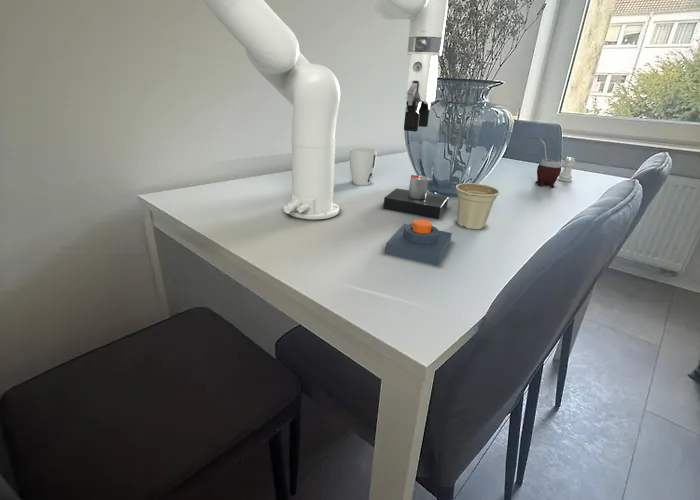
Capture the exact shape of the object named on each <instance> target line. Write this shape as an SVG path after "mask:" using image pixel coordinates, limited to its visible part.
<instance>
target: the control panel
mask: <svg viewBox="0 0 700 500" xmlns="http://www.w3.org/2000/svg"><path fill="white" fill-rule="evenodd" d="M408 194H409V189H402V188H398V187H397V188H394V190H392V191H391V192H390V193H388V194H387V195H386V196H384V197H383V210H388V211H392V212H398V213H403V214H408V215H413V216H420V217H424V218H431V219H435V220H440V219H441V218H442V215H443V214H444V213H445V211H446V210H447V208H448V203H449V196H446V195H438V194H433V193H427V194H426V198H425V199H421V200H418V199H412V198H410V197H409V196H408Z"/></svg>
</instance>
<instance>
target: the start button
mask: <svg viewBox="0 0 700 500" xmlns="http://www.w3.org/2000/svg"><path fill="white" fill-rule="evenodd" d="M412 223H413V227H412V231H415V232H417V233H431V228H432V226H433V223H432V221H430V220H427V219H421V218H419V219H414V220H413V221H412Z"/></svg>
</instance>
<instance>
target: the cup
mask: <svg viewBox="0 0 700 500" xmlns="http://www.w3.org/2000/svg"><path fill="white" fill-rule="evenodd" d="M377 155H378V150H377V149H375V148H371V147H362V146H361V147H360V146H359V147H357V146H355V147H351V148H349V168H350V176H351V180H352V183H353V185H357V186H368V185H370V183H371V181H372V178H373V176H374V171H375V167H376V162H377Z"/></svg>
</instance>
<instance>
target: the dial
mask: <svg viewBox="0 0 700 500" xmlns="http://www.w3.org/2000/svg"><path fill="white" fill-rule="evenodd" d="M429 179H430V178H429V177H428V176H425V175H419V174H411V175H410V178H409V185H408V186H409V188H408V190H409V194H408V196H409V197H410V198H412V199H418V200H421V199H425V198H426V194H428V185H429Z"/></svg>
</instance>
